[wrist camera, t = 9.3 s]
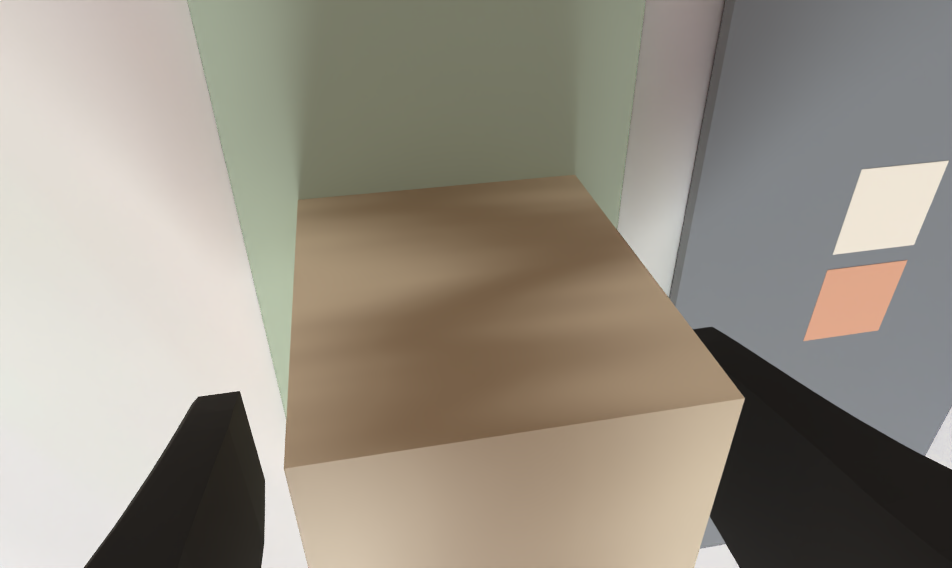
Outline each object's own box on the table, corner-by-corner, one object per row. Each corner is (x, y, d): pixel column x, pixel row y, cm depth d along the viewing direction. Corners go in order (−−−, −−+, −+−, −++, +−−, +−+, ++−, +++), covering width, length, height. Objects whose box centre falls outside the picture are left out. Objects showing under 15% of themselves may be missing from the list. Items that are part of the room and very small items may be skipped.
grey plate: (1334, -349, 10) (1362, -354, 10) (888, 503, 21) (895, 511, 21) (795, -371, 9) (809, -378, 8) (621, 554, 20) (625, 563, 20)
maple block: (575, 174, 12) (745, 398, 7) (557, 378, 15) (673, 637, 10) (298, 200, 12) (284, 468, 7) (333, 409, 14) (343, 706, 9)
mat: (664, -183, 10) (668, -183, 9) (578, 520, 19) (580, 524, 18) (147, -178, 8) (145, -179, 8) (322, 566, 17) (322, 571, 17)
